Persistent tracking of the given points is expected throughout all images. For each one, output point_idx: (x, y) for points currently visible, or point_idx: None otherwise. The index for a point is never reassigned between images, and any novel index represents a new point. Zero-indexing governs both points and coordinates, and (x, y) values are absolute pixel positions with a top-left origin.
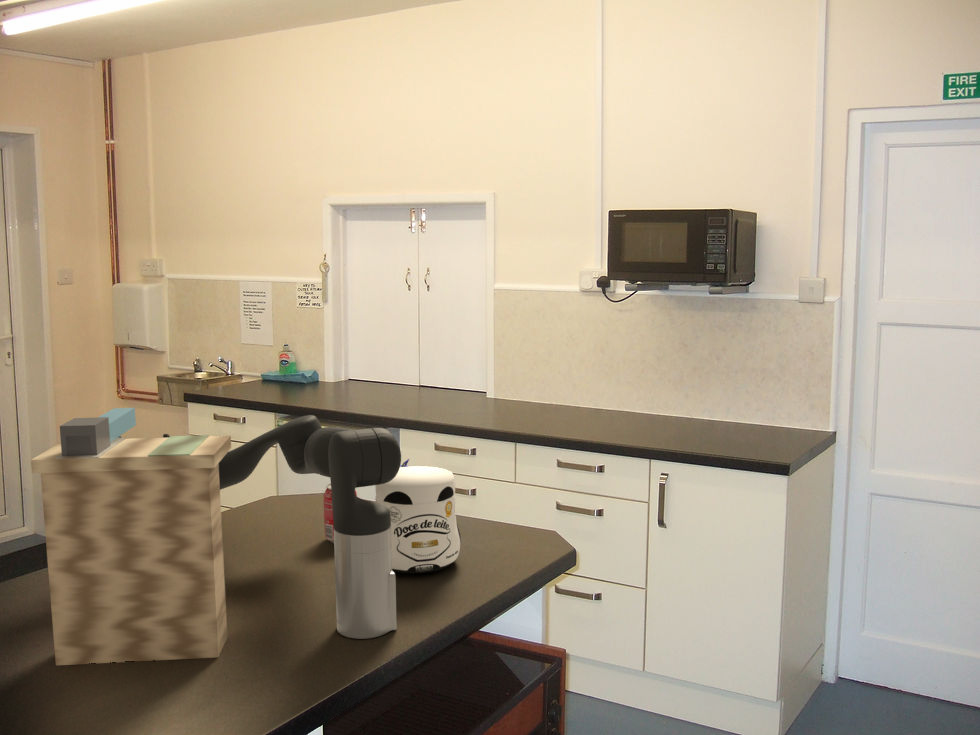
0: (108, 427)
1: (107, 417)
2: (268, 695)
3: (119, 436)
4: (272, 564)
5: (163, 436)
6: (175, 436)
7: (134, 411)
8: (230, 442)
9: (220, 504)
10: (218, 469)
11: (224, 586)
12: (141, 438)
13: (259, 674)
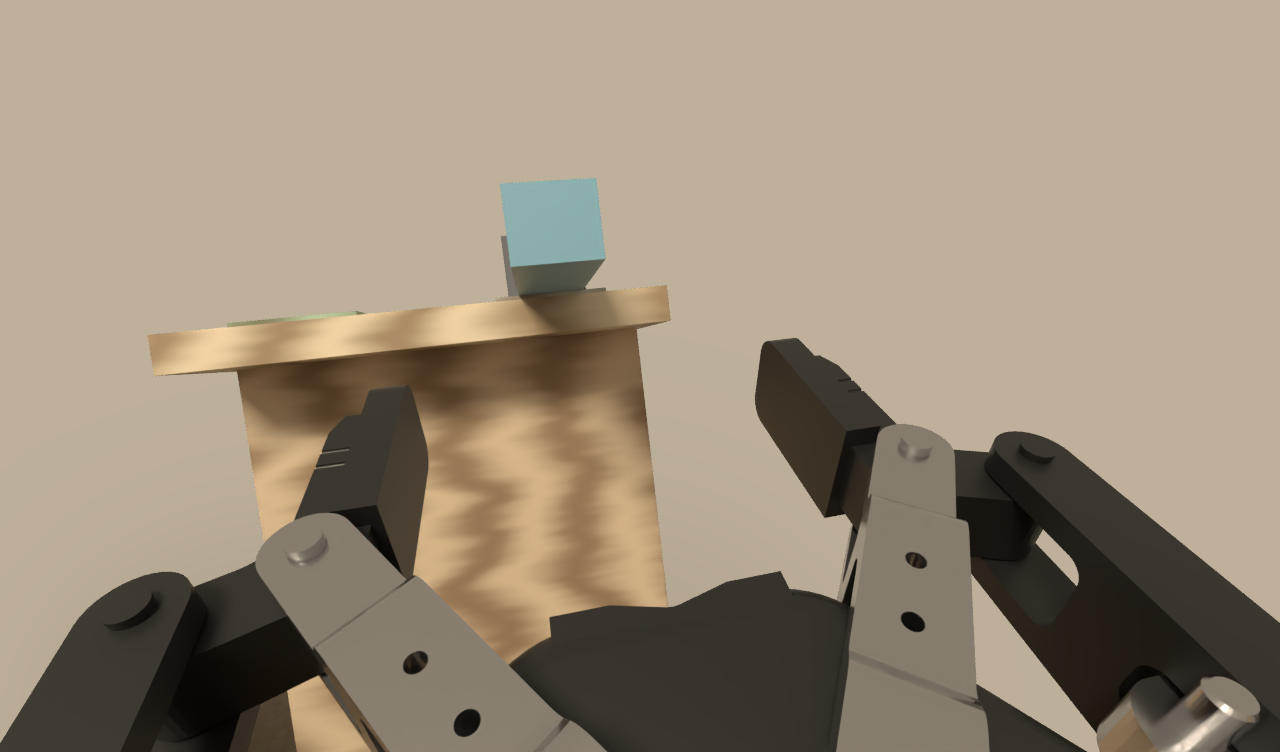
0: (504, 261)
1: (502, 236)
2: (287, 694)
3: (771, 352)
4: None
5: (411, 400)
6: (340, 313)
7: (502, 202)
8: (157, 355)
9: (258, 499)
10: (244, 405)
11: (293, 714)
12: (447, 306)
13: (282, 735)
